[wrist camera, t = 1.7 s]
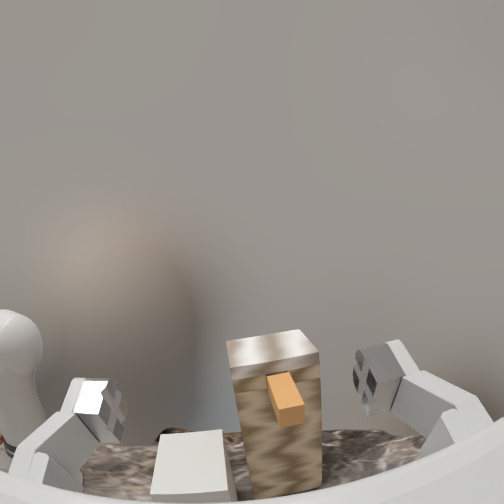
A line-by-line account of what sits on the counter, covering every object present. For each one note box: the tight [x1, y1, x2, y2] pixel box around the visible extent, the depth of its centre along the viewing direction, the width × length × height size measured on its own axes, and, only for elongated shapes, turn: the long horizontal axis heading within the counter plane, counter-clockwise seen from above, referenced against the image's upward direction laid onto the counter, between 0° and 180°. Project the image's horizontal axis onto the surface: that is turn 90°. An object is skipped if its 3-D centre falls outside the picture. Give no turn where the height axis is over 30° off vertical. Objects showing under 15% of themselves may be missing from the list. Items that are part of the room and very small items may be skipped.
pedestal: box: [150, 429, 238, 503], centre depth 38 cm, size 10×14×16 cm
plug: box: [266, 371, 305, 428], centre depth 39 cm, size 3×13×3 cm, turn 8°
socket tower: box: [226, 329, 322, 500], centre depth 46 cm, size 12×10×28 cm
